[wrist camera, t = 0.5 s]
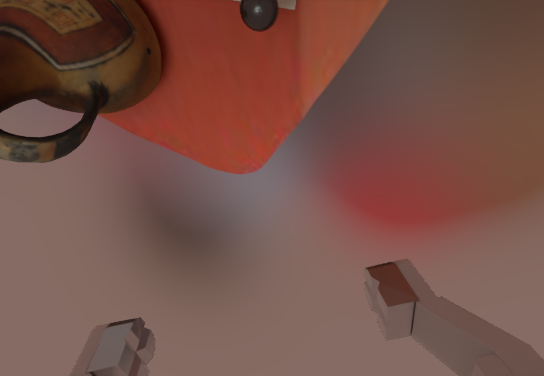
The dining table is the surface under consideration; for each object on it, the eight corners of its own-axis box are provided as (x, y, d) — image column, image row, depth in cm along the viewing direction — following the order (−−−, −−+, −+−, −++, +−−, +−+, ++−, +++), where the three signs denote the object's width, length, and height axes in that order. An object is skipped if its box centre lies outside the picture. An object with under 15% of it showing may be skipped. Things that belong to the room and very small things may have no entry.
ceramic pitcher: (55, -78, 37) (-264, -77, 16) (189, 25, 45) (94, 118, 24) (39, 43, 49) (-161, 138, 27) (148, 109, 57) (59, 223, 35)
